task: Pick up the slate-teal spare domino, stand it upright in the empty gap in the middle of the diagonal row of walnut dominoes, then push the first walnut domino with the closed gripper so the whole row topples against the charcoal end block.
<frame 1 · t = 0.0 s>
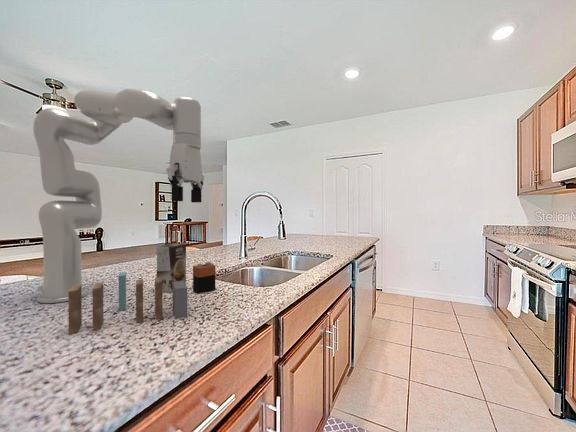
hand: (187, 201, 79), 31 cm above the worktop, tool pointing down, fingers open, 9 cm apart
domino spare: (122, 307, 80), on the worktop
domino 1: (75, 329, 65), on the worktop
domino 2: (98, 326, 67), on the worktop
domino 4: (139, 319, 71), on the worktop
coffee box: (171, 289, 100), on the worktop
domino 5: (158, 316, 73), on the worktop
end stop: (179, 312, 76), on the worktop
battery: (204, 291, 97), on the worktop
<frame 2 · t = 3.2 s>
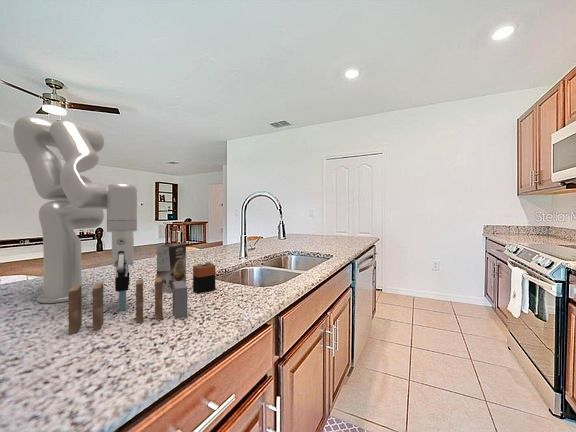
hand: (122, 287, 80), 6 cm above the worktop, tool pointing down, fingers closed on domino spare, 4 cm apart
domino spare: (122, 307, 80), on the worktop, touching gripper
everything else where it was.
when the fingers open (7 cm above the worktop, at t = 9.1 s): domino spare stays where it is, on the worktop.
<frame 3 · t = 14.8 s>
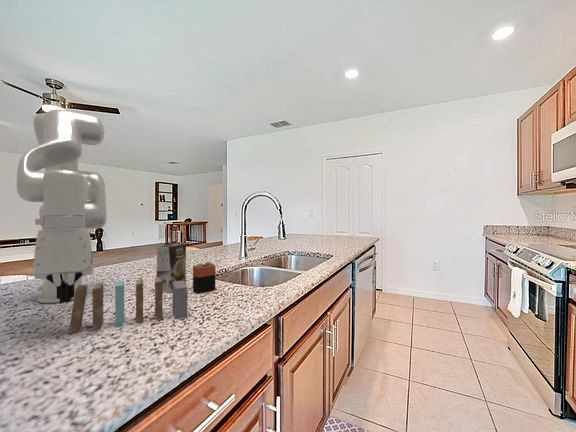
hand: (65, 301, 64), 7 cm above the worktop, tool pointing down, fingers closed
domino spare: (119, 322, 69), on the worktop
domino 1: (75, 329, 65), on the worktop, tilted 7°
everything else where it was.
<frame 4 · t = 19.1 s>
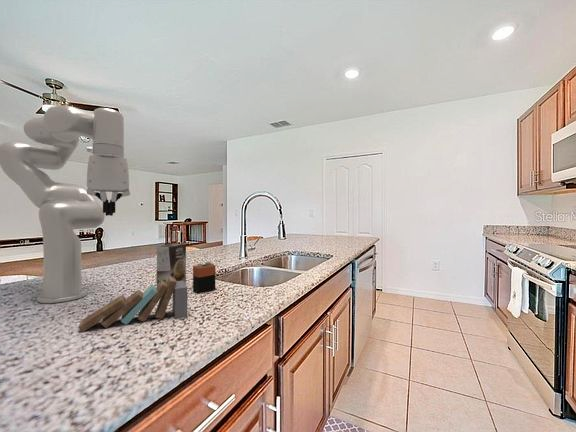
hand: (109, 215, 80), 27 cm above the worktop, tool pointing down, fingers closed
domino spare: (124, 319, 70), point 1 cm above the worktop, tilted 44°, touching domino 2, domino 4
domino 1: (82, 325, 66), point 1 cm above the worktop, tilted 59°, touching domino 2
domino 2: (104, 322, 68), point 1 cm above the worktop, tilted 52°, touching domino 1, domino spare
domino 4: (141, 317, 71), on the worktop, tilted 34°, touching domino 5, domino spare
domino 5: (158, 315, 73), on the worktop, tilted 21°, touching domino 4, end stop
everything else where it was.
at the end: domino 5 tilted 21°; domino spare tilted 44°; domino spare inside the target area (0.3 cm from its centre), point 0.5 cm above the worktop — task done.
